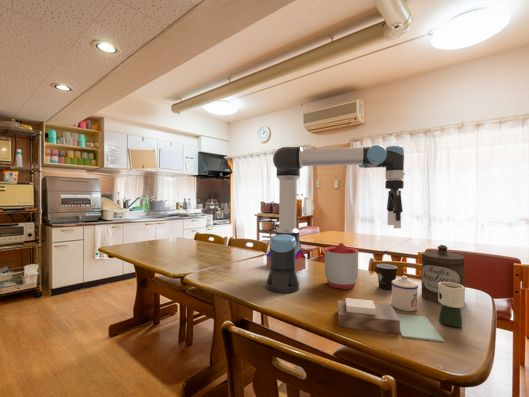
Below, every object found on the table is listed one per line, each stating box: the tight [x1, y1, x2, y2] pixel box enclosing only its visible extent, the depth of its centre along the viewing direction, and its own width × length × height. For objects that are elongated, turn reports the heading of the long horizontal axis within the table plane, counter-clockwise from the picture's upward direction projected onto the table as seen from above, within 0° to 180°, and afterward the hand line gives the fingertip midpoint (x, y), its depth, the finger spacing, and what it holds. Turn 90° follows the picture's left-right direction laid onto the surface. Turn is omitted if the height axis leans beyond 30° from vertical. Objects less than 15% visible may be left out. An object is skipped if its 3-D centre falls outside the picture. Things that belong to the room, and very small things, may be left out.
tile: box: [345, 297, 376, 315], centre depth 92 cm, size 9×7×2 cm
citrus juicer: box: [323, 242, 360, 290], centre depth 129 cm, size 16×17×20 cm
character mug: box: [438, 282, 465, 327], centre depth 90 cm, size 11×7×13 cm, turn 141°
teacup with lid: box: [391, 275, 419, 312], centre depth 105 cm, size 12×9×12 cm
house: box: [266, 249, 307, 273], centre depth 159 cm, size 12×20×12 cm, turn 49°
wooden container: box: [421, 244, 466, 305], centre depth 113 cm, size 15×15×22 cm
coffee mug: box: [374, 263, 398, 292], centre depth 126 cm, size 12×9×10 cm
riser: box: [337, 300, 401, 335], centre depth 91 cm, size 18×12×4 cm, turn 76°
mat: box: [396, 313, 445, 343], centre depth 88 cm, size 11×16×1 cm
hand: (393, 226), depth 125 cm, fingers open, 13 cm apart
